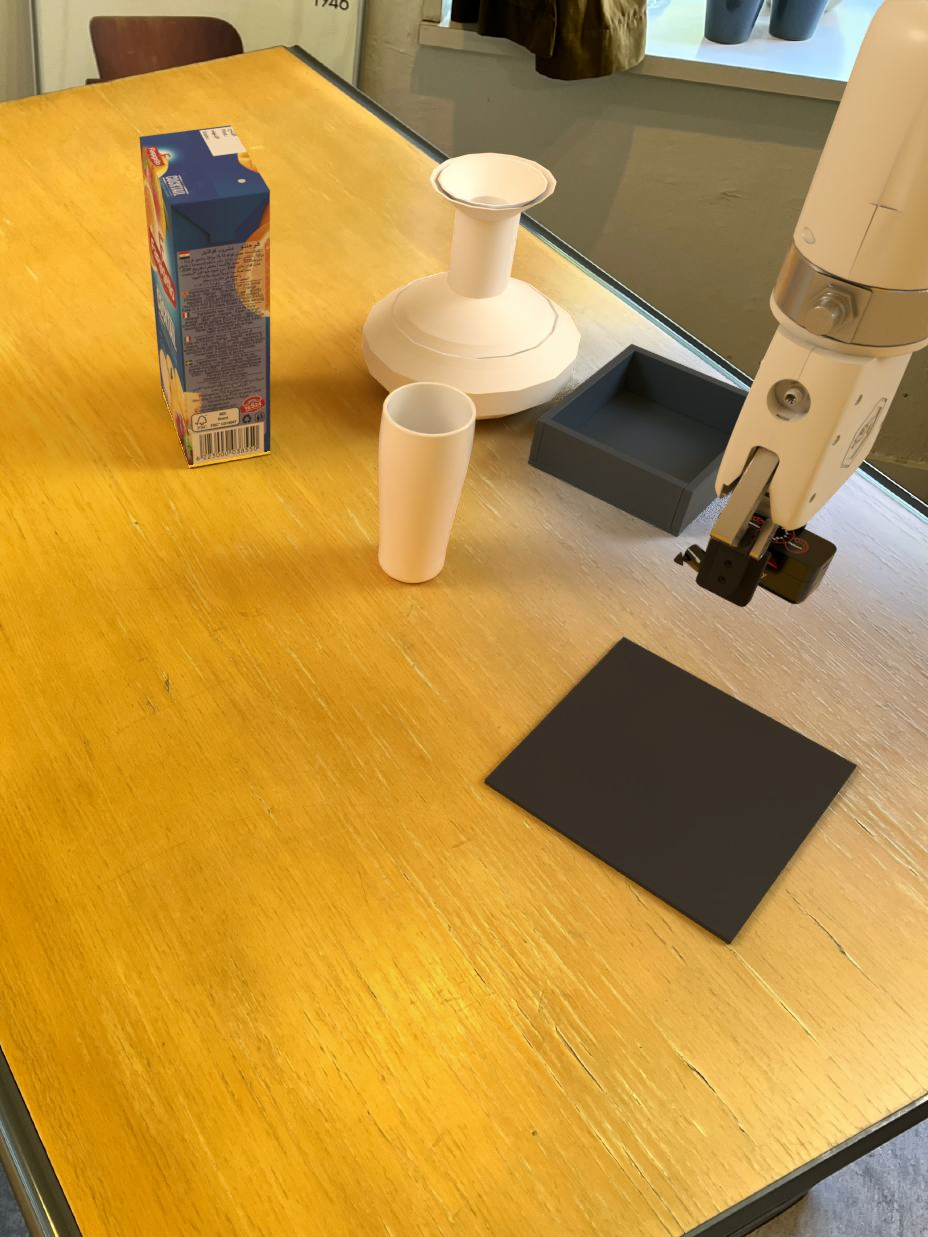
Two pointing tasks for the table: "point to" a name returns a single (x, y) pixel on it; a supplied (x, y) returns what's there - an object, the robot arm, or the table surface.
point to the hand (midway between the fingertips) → (744, 568)
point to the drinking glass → (421, 476)
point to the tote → (642, 437)
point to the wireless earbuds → (783, 561)
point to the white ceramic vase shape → (478, 300)
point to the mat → (674, 785)
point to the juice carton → (210, 289)
